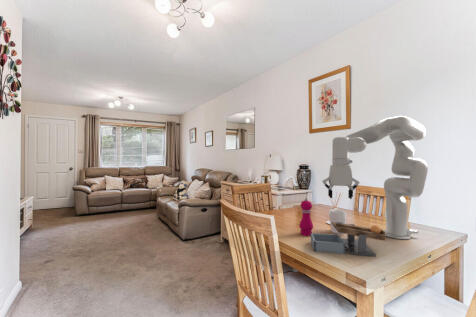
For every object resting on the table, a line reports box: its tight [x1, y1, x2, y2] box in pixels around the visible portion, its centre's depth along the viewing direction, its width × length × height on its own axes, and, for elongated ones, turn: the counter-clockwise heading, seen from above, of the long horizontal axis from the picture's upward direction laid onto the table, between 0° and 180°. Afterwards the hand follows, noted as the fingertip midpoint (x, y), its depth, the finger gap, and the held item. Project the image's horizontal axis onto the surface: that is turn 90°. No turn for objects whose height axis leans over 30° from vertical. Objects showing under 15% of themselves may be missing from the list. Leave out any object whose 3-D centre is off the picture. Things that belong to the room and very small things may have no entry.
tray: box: [332, 222, 387, 242], centre depth 106 cm, size 19×15×4 cm
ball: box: [370, 224, 382, 234], centre depth 101 cm, size 4×4×4 cm
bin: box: [310, 232, 346, 255], centre depth 105 cm, size 13×12×4 cm
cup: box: [328, 208, 347, 235], centre depth 129 cm, size 9×9×12 cm
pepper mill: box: [298, 197, 314, 237], centre depth 125 cm, size 7×7×20 cm
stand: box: [341, 223, 377, 258], centre depth 106 cm, size 10×18×9 cm, turn 169°
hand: (340, 197), depth 111 cm, fingers open, 8 cm apart
